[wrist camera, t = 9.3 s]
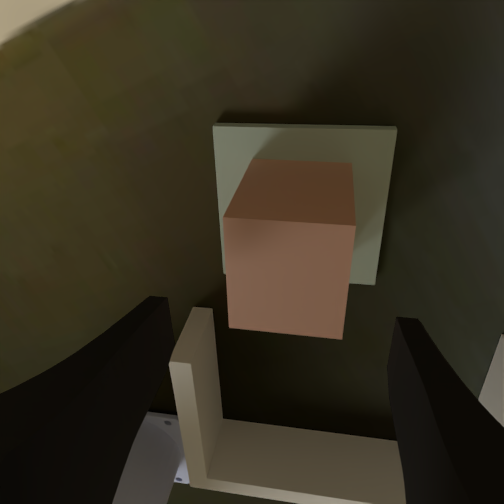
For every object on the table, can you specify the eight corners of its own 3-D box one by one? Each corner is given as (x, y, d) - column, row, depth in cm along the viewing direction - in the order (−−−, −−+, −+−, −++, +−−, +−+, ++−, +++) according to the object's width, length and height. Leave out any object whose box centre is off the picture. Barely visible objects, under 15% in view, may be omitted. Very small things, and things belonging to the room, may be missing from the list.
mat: (225, 267, 24) (223, 273, 24) (215, 122, 20) (212, 126, 20) (374, 278, 23) (374, 284, 22) (395, 126, 19) (397, 129, 18)
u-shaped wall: (208, 427, 32) (190, 486, 28) (193, 306, 26) (168, 361, 22) (475, 462, 29) (495, 534, 25) (525, 336, 23) (561, 404, 19)
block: (253, 251, 23) (228, 327, 18) (252, 158, 20) (222, 217, 15) (341, 258, 22) (341, 339, 17) (351, 163, 19) (355, 225, 14)
